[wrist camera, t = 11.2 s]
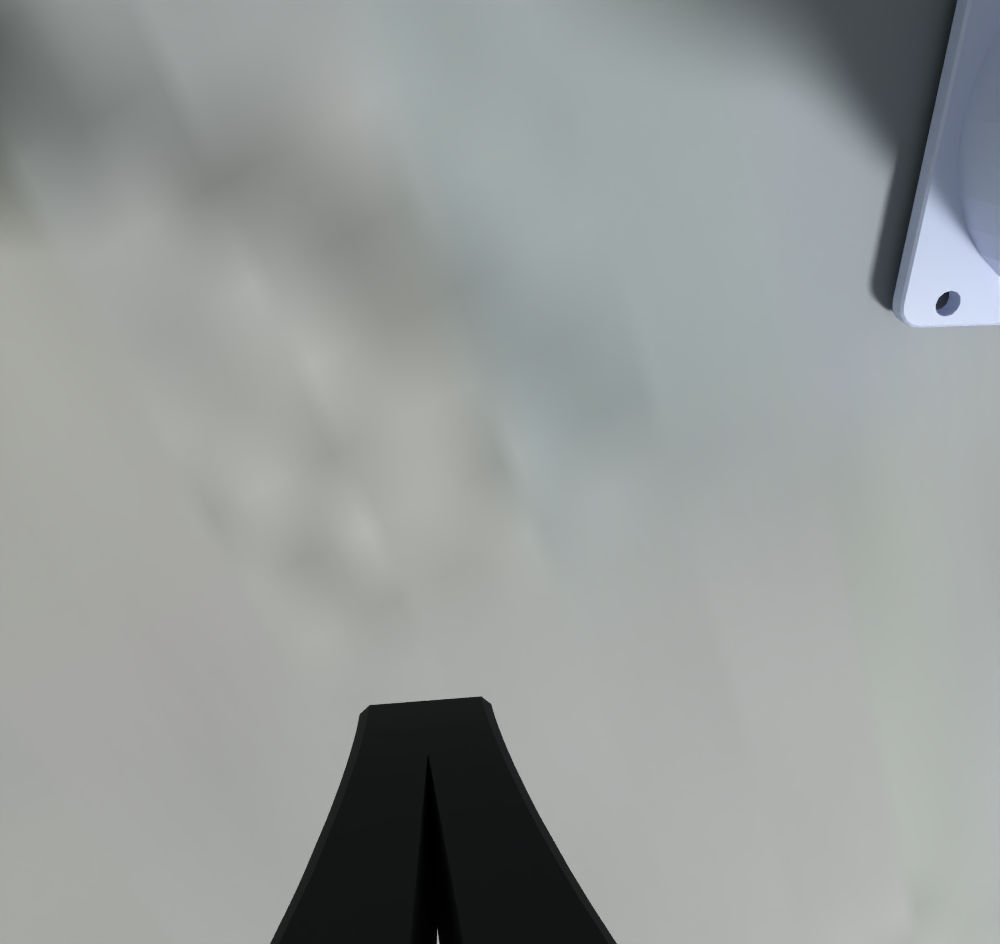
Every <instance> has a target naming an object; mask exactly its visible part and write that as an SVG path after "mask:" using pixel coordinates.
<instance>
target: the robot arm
mask: <svg viewBox="0 0 1000 944" xmlns="http://www.w3.org/2000/svg"><path fill="white" fill-rule="evenodd" d="M948 291H949V299H948V301H947V303H946V305H945V306H944V307H942V308H941V309H939V310H936V302H937V300H938V298H939V297H940V296H941V295H942V294H944V293H945V292H948ZM893 312H894V314H895V316H896V318H898V319H899V320H900V321H902V322H903V323H905V324H907V325H909V326H912V327H918V328H919V327H946V326H974V325H1000V0H957V5H956V9H955V14H954V19H953V23H952V28H951V33H950V37H949V42H948V46H947V51H946V56H945V60H944V65H943V70H942V74H941V79H940V84H939V88H938V93H937V98H936V102H935V107H934V111H933V116H932V121H931V125H930V130H929V135H928V139H927V144H926V149H925V153H924V158H923V163H922V167H921V172H920V176H919V181H918V186H917V190H916V195H915V200H914V204H913V209H912V214H911V218H910V223H909V228H908V232H907V237H906V241H905V246H904V251H903V255H902V260H901V265H900V269H899V274H898V279H897V283H896V288H895V293H894V297H893ZM437 928H438V936H439V943H440V944H617V943H616V942H615V940H614V939H613V937H612V936H611V934H610V933H609V931H608V930H607V928H606V926H605V925H604V923H603V922H602V920H601V919H600V917H599V916H598V914H597V913H596V911H595V909H594V908H593V906H592V905H591V903H590V902H589V900H588V898H587V897H586V895H585V894H584V892H583V890H582V889H581V887H580V885H579V884H578V882H577V880H576V879H575V877H574V875H573V874H572V872H571V871H570V869H569V867H568V865H567V864H566V862H565V860H564V858H563V856H562V855H561V853H560V851H559V849H558V848H557V846H556V844H555V842H554V841H553V839H552V837H551V835H550V833H549V832H548V830H547V828H546V826H545V825H544V823H543V821H542V819H541V818H540V816H539V814H538V812H537V810H536V808H535V806H534V804H533V802H532V800H531V798H530V796H529V794H528V792H527V790H526V788H525V786H524V784H523V782H522V780H521V778H520V776H519V774H518V772H517V770H516V768H515V766H514V763H513V761H512V759H511V757H510V754H509V752H508V750H507V747H506V745H505V743H504V740H503V738H502V735H501V732H500V730H499V727H498V724H497V722H496V719H495V716H494V712H493V709H492V705H491V704H490V703H489V702H488V701H486V700H485V699H484V698H483V697H469V698H456V699H443V700H431V701H418V702H405V703H392V704H379V705H369V706H368V707H367V708H366V709H365V710H364V711H363V712H362V713H361V714H360V716H359V721H358V726H357V731H356V735H355V738H354V742H353V745H352V749H351V752H350V756H349V759H348V762H347V765H346V768H345V771H344V774H343V777H342V780H341V783H340V785H339V788H338V791H337V794H336V796H335V799H334V802H333V804H332V807H331V810H330V812H329V815H328V817H327V820H326V822H325V825H324V827H323V829H322V832H321V834H320V836H319V839H318V841H317V843H316V846H315V848H314V851H313V853H312V855H311V858H310V860H309V862H308V865H307V867H306V870H305V872H304V874H303V877H302V879H301V881H300V883H299V886H298V888H297V890H296V892H295V894H294V896H293V899H292V901H291V903H290V905H289V907H288V909H287V911H286V913H285V915H284V917H283V919H282V921H281V923H280V925H279V927H278V929H277V931H276V933H275V935H274V937H273V939H272V941H271V943H270V944H437Z"/></svg>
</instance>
